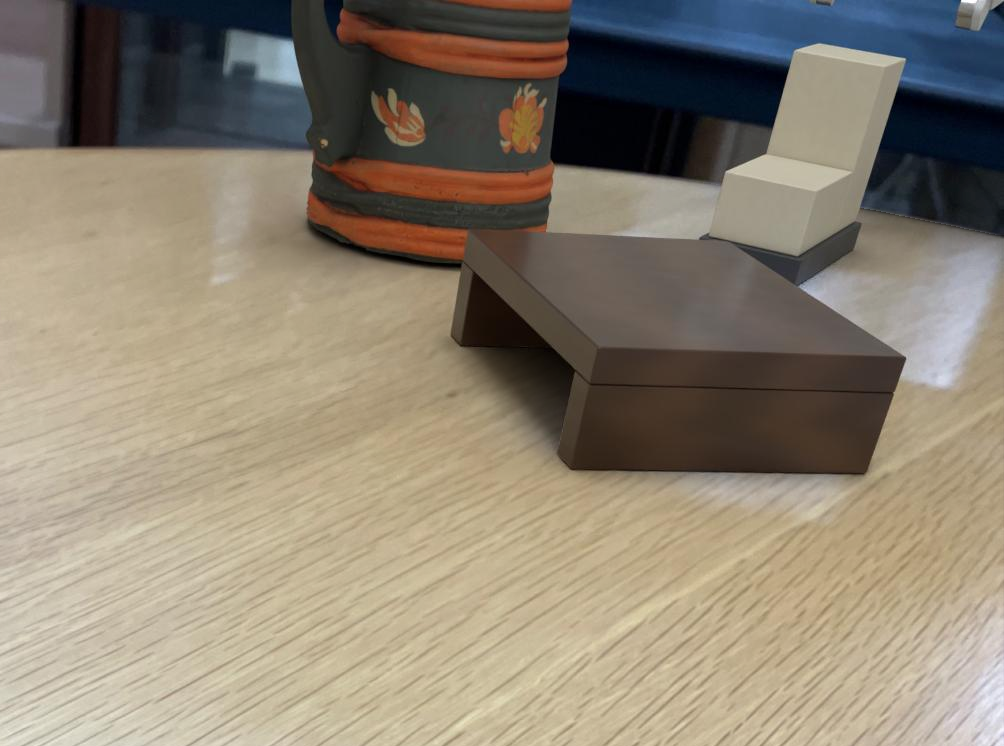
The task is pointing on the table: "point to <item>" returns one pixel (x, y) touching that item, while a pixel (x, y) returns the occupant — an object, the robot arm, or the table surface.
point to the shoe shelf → (681, 352)
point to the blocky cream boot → (811, 163)
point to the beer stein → (430, 119)
